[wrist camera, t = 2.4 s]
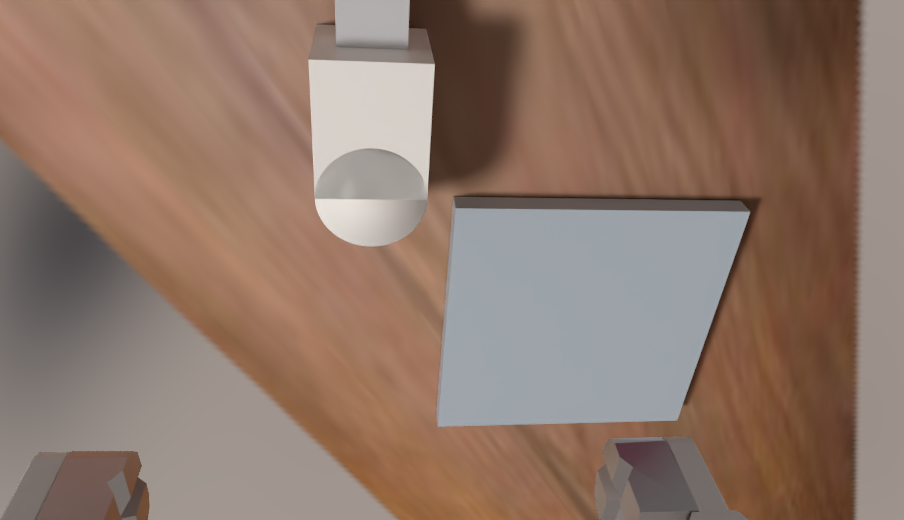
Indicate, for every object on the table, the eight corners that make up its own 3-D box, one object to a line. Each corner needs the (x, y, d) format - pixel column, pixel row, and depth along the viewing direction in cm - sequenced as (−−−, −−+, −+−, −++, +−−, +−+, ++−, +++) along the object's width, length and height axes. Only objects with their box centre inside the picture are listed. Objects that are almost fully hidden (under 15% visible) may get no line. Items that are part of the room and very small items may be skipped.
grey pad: (453, 196, 30) (455, 208, 29) (740, 200, 31) (750, 211, 31) (436, 412, 37) (437, 426, 36) (670, 406, 39) (677, 420, 38)
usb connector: (313, -47, 24) (304, -21, 21) (429, -41, 24) (439, -14, 21) (322, 194, 29) (316, 245, 26) (418, 195, 30) (424, 246, 26)
